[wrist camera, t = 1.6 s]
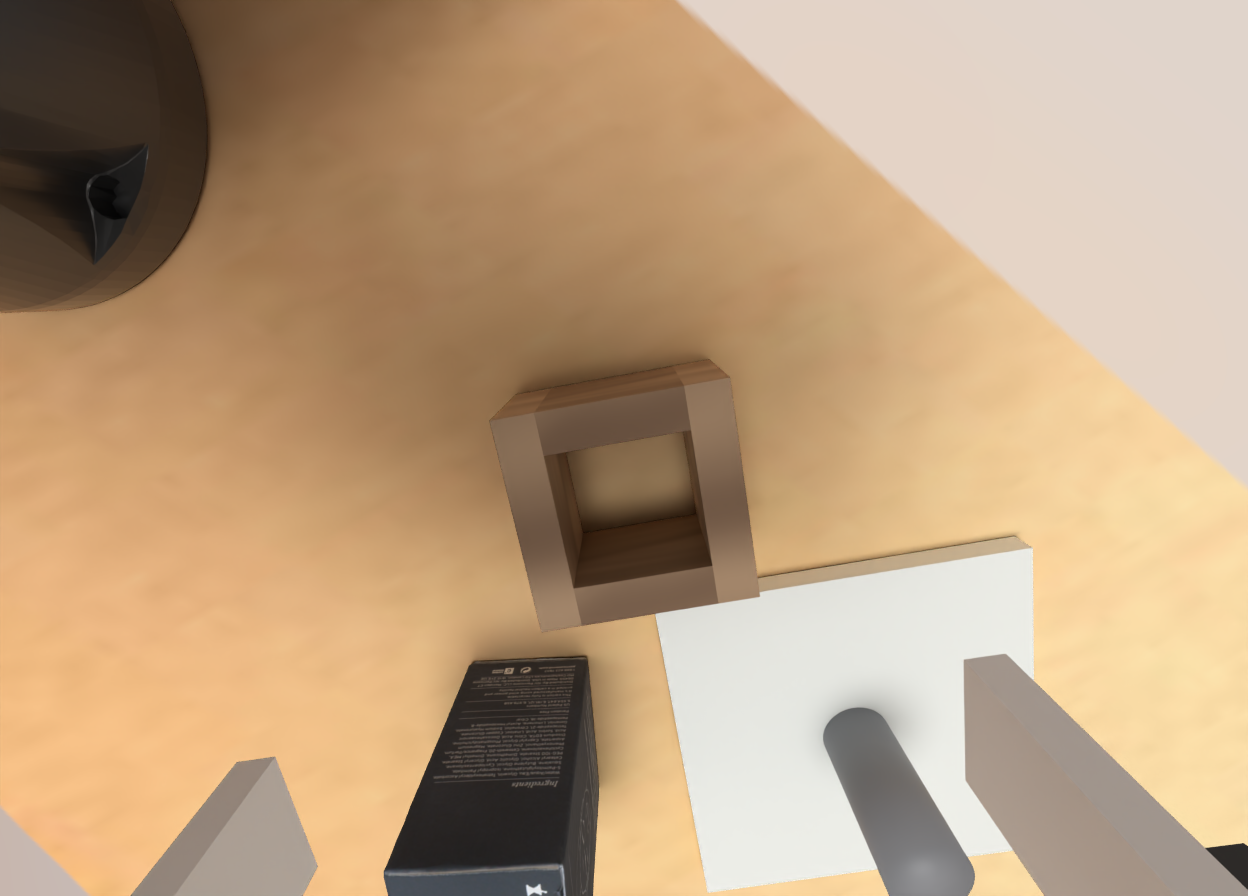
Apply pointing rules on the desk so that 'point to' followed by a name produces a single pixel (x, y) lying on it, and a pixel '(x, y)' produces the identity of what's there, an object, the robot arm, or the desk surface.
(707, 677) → the thin white baseboard
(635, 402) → the collar
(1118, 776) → the robot arm
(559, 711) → the box
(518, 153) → the desk surface
